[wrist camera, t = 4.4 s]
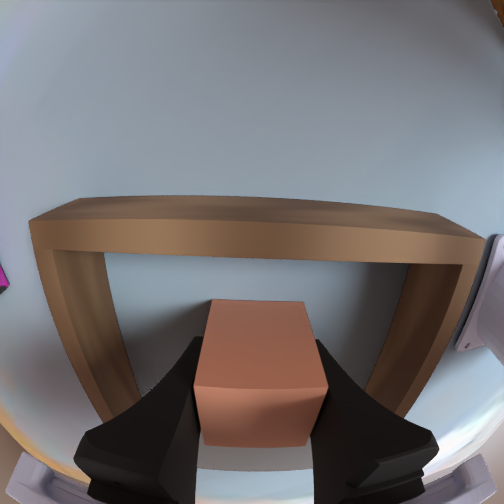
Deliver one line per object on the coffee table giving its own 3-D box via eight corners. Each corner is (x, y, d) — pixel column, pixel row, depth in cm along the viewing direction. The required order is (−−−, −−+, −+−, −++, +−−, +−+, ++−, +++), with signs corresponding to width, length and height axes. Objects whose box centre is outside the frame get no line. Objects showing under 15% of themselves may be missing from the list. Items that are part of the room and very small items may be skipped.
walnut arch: (436, 213, 10) (485, 239, 7) (369, 404, 15) (383, 444, 12) (79, 198, 10) (28, 220, 7) (129, 399, 15) (114, 440, 12)
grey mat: (336, 420, 16) (338, 426, 15) (313, 464, 19) (314, 468, 18) (161, 416, 16) (160, 422, 15) (179, 461, 18) (178, 465, 18)
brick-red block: (303, 301, 12) (328, 387, 7) (292, 365, 13) (305, 445, 9) (212, 299, 12) (193, 385, 7) (215, 363, 13) (204, 445, 9)
